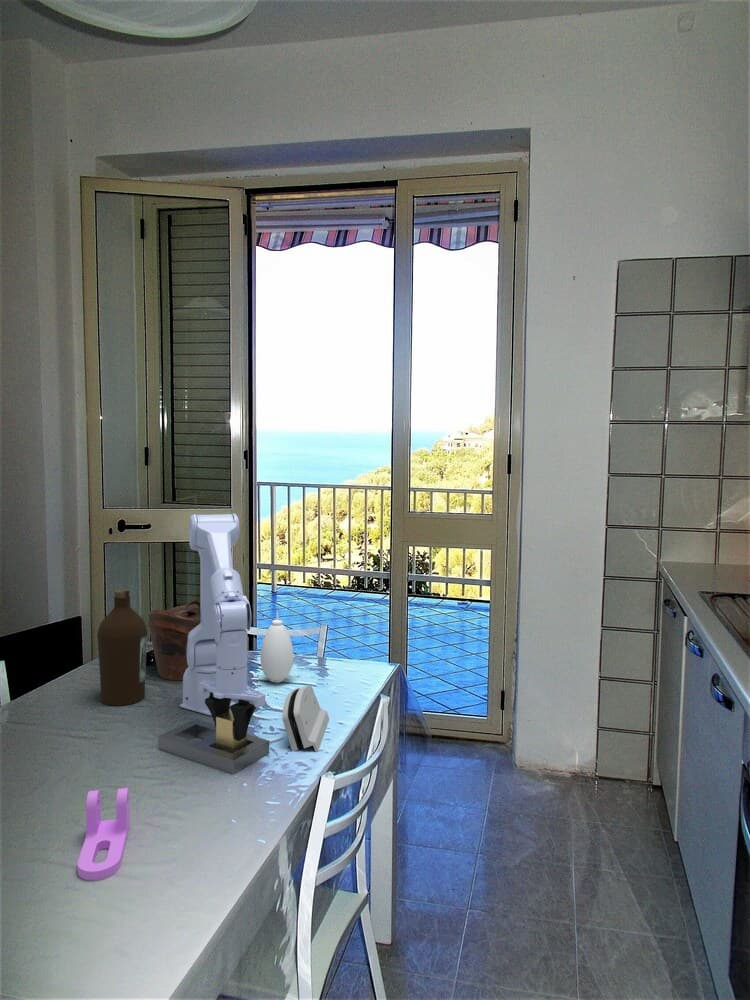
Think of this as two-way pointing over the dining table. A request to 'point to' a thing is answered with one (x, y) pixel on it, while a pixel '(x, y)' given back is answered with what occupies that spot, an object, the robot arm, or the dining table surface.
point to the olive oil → (122, 653)
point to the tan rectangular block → (227, 733)
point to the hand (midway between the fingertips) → (231, 735)
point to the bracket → (104, 836)
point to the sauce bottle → (276, 652)
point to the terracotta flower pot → (173, 637)
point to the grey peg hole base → (211, 747)
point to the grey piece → (304, 719)
